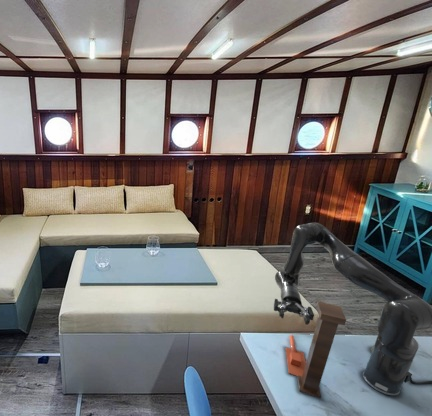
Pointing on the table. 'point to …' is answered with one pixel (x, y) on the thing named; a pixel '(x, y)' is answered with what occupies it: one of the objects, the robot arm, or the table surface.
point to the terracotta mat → (293, 368)
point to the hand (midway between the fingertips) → (294, 319)
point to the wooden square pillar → (320, 348)
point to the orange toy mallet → (294, 353)
